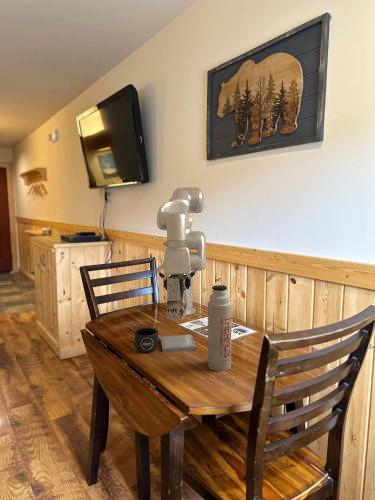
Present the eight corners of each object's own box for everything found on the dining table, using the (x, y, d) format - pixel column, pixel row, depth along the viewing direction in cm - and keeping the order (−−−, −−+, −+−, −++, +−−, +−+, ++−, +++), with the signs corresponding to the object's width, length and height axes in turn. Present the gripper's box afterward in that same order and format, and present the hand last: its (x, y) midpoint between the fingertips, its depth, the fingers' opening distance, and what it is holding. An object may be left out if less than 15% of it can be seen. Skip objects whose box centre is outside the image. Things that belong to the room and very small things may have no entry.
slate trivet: (160, 339, 143) (160, 336, 143) (191, 337, 145) (191, 334, 145) (162, 351, 130) (162, 348, 130) (196, 349, 132) (196, 346, 132)
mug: (159, 353, 129) (159, 335, 129) (135, 355, 128) (134, 336, 127) (156, 341, 141) (156, 324, 140) (134, 342, 140) (134, 325, 139)
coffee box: (182, 319, 131) (182, 278, 129) (166, 319, 132) (166, 277, 130) (187, 312, 140) (187, 273, 138) (172, 312, 141) (171, 273, 139)
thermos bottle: (235, 368, 117) (236, 287, 113) (214, 372, 114) (214, 290, 110) (223, 358, 124) (224, 282, 121) (203, 363, 121) (203, 285, 117)
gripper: (154, 246, 128) (155, 292, 130) (200, 245, 130) (200, 290, 133) (153, 244, 135) (154, 287, 137) (197, 243, 138) (197, 286, 140)
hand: (177, 288), depth 135 cm, fingers closed on coffee box, 7 cm apart
